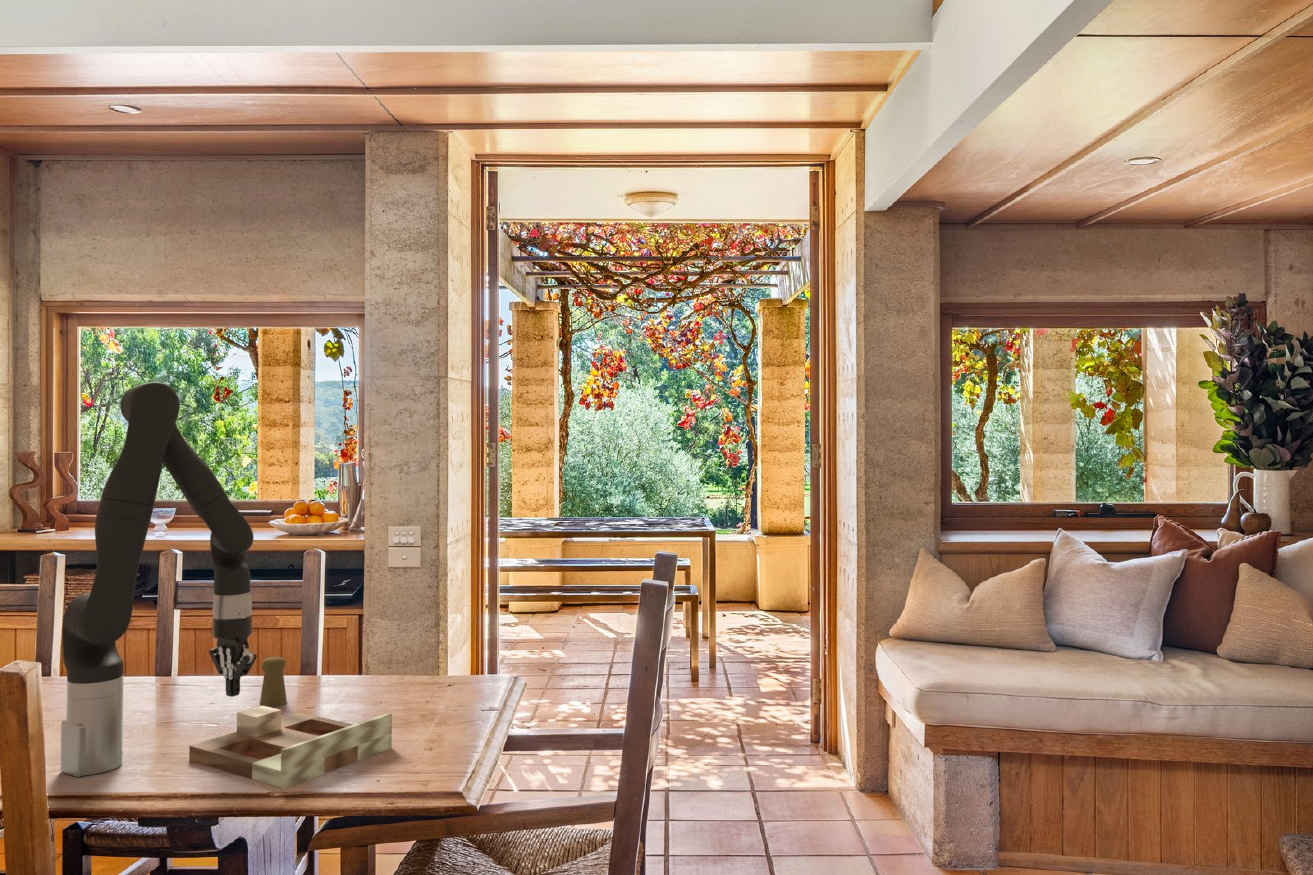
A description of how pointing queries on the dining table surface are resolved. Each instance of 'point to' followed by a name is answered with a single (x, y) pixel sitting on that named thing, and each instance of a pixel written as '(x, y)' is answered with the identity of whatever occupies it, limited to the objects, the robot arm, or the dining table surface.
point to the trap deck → (295, 748)
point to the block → (258, 721)
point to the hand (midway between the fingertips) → (233, 695)
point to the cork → (273, 682)
